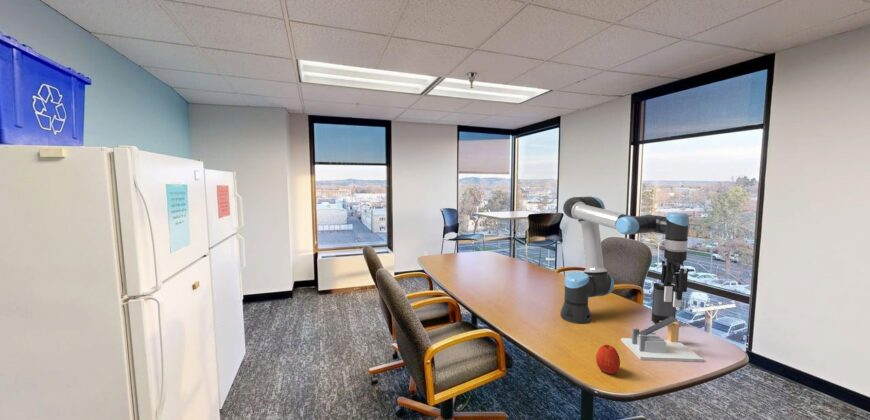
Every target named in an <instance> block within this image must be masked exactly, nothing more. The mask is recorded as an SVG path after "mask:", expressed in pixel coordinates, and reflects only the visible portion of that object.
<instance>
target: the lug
mask: <svg viewBox="0 0 870 420" xmlns="http://www.w3.org/2000/svg"><path fill="white" fill-rule="evenodd" d="M660 322H661V321H660ZM679 331H680V323H678V322H677V321H675V322H673V323H671V324H669V325H667V326H666V339H668V340H669V341H670V342H678V341H679Z"/></svg>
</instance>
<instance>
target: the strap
mask: <svg viewBox="0 0 870 420" xmlns="http://www.w3.org/2000/svg"><path fill="white" fill-rule="evenodd" d="M677 321H678V319H677V318H676V317H675V318H674V317H673V316H671V317H669V318H667V319H665V320H663V321H661V322H659V323H657V324H652V325H651V326H648V327H646V328H644V329H642V330H639V332H635V333H636V334H637V335H638V336H639V337H640V335H648V334H650V333H652V332H657V331H658V330H661V329H663V328H665V327H667V325H669V324H671V323H673V322H677Z"/></svg>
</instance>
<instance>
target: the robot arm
mask: <svg viewBox="0 0 870 420" xmlns="http://www.w3.org/2000/svg"><path fill="white" fill-rule="evenodd" d="M562 207H563V208H562V210H563V211H562V212H563V213H564V214H565V216H566V217H568V218H570V219H574V220H577V222H578V223H579V224H580V225H581V231H582V233H581V234H582V239H583V250H584V256H585V258H584V259H585V266H586V268H585V269H584V270H583V272H581V271H580V272H576V271H575V272H570V273H568V274H567V275H566V276H565V277H564V278H565V279H564V294H563V295H564V297H563V298H564V299H563V304H562V306H561V309H560V315H559V316H560V318H562V320H564V321H567V322H569V323H573V324H579V325H580V324H589V323H591V321H592V313H591V311H590V307H589V298H595V297H603V296H608V295H609V294H611V293H612V292H613V290H614V289H615V280H614V278H613V277H612V275H610V273H608V271H609V270H608V269H606V267H605V266H604V258H603V257H604V256H603V250H602V247H603V246H602V241H601V233H600V225H601V226H604V227H606V228H607V227H608V228H610V229H614V230H617V231H618V233H620V234H622V235H628V236H630V235H637V234H651V233H656V234H662V235H665V236H664V237H665V238H664V253H663V254H664V255H663V258H664V259H666V260H661V276H660V278H661V279H660V283H661V284H662V285H664V286H665V288H664V301H665V302H672V287H670V286H673V285H675V290H676V291H675V290H674V297H673V307H676V308H681V307H682V299H683V293H687V291H688V275H689V271H690V269H689V268H686V267H685V266H684V262H685V261H687V259H688V258H687V257H688V255H687V254H688V252H687V250H688V241H689V240H688V237H689V228H690V216H689V214H688V213H685V212H668V213H666V216H663V215H661V216H660V215H656V214H641V215H637V216H635V215H629V214H625V213H620V212H616V211H612V210H610V209H609V210H608V209H606V207H605V204H604V202H603V200H602V199H601V198H599V197H597V196H592V195H591V196H572V197H569V198H568V199H567V200H565V201H564V204H563V206H562ZM673 280H674V284H672V283H673Z"/></svg>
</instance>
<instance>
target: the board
mask: <svg viewBox="0 0 870 420" xmlns="http://www.w3.org/2000/svg"><path fill="white" fill-rule="evenodd" d="M631 330H632V335H631V337H630V338H629V337H627V338H626V337H622V338H621V339H620V341H621V342H622V343H623V344H624V345H625V346H626V348H628V349H629V350H630V351H631V352H632V353H633V354H634V355H635V356H636V357H637V358H638V359H639V360H640V361H641V360H642V361H663V362H665V361H666V362H689V363H690V362H691V363H693V362H694V363H703V362H704V358H702V357H701V356H700V355H698V353H696V352H694V351H693V350H691V349H690V348H689V347H687V346H686V345H685V344H683V343H682V342H680V341H679V340H678V342H670V341H669V340H668V339H667V338H666V339H665V338H662V337H660V336H659V335H658V334H656V331H654V332H652V333H650V334H648V335H640V337H639V336H638V335H637V334H636V333H635V332H640V328H637V327H636V328H632V329H631Z"/></svg>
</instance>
